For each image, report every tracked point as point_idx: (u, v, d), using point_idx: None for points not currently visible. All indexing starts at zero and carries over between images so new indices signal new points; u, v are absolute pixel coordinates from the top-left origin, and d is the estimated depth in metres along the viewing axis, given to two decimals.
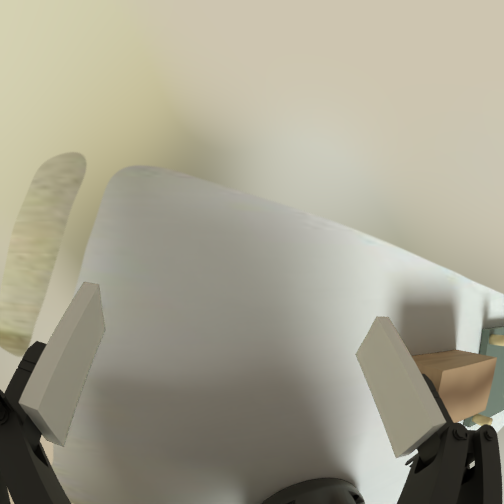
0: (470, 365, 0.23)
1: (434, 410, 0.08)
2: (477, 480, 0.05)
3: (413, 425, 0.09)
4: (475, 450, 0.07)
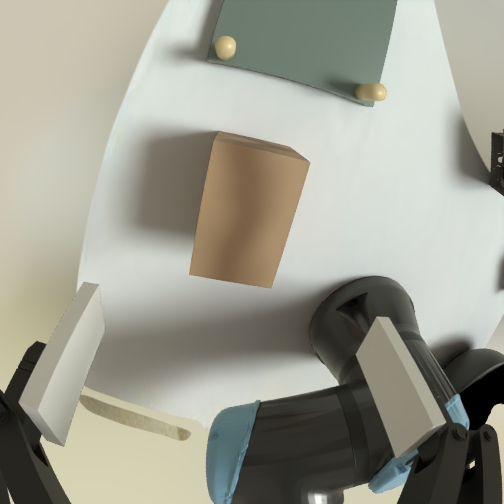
0: (199, 219, 0.22)
1: (434, 410, 0.08)
2: (477, 480, 0.05)
3: (413, 425, 0.09)
4: (475, 450, 0.07)
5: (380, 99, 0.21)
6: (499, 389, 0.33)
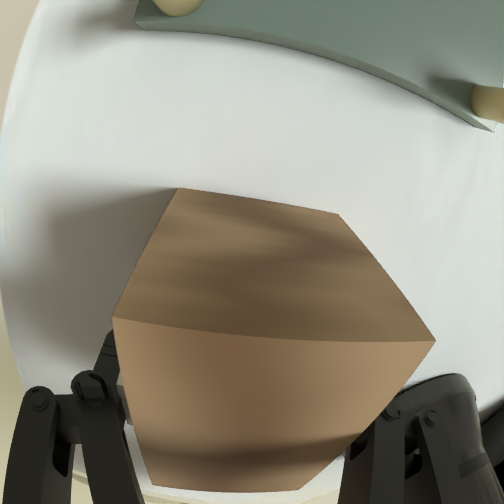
0: (143, 449, 0.08)
1: None
2: (428, 472, 0.06)
3: None
4: (418, 439, 0.08)
5: None
6: None
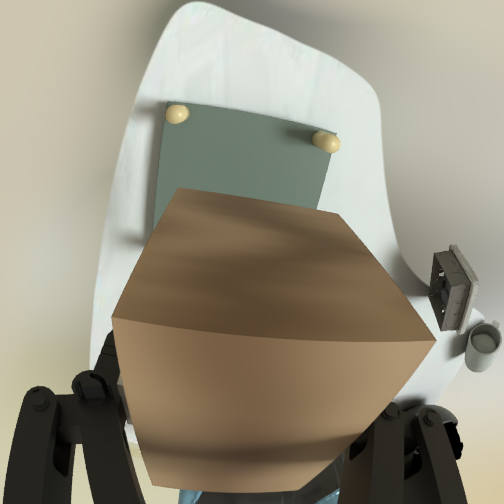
0: (143, 449, 0.08)
1: None
2: (427, 472, 0.06)
3: None
4: (417, 439, 0.08)
5: None
6: None
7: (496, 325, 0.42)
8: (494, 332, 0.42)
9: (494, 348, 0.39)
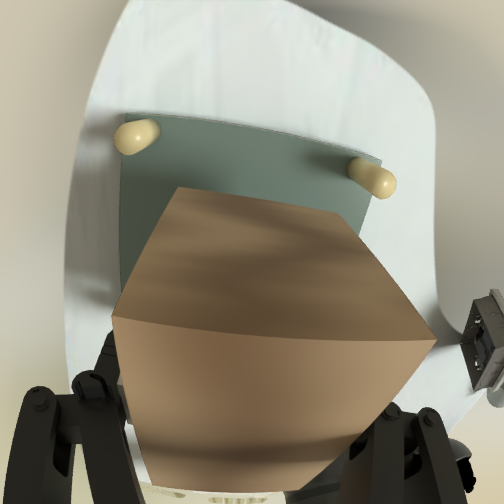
0: (143, 449, 0.07)
1: None
2: (427, 472, 0.06)
3: None
4: (417, 439, 0.08)
5: None
6: None
7: None
8: None
9: None
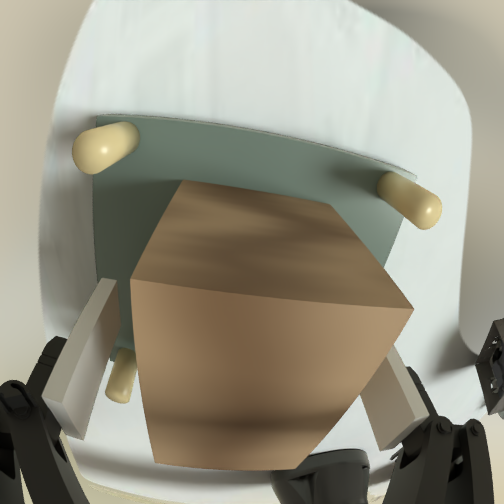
0: (148, 418, 0.09)
1: (417, 402, 0.09)
2: (466, 477, 0.06)
3: (396, 417, 0.09)
4: (462, 446, 0.07)
5: None
6: None
7: None
8: None
9: None
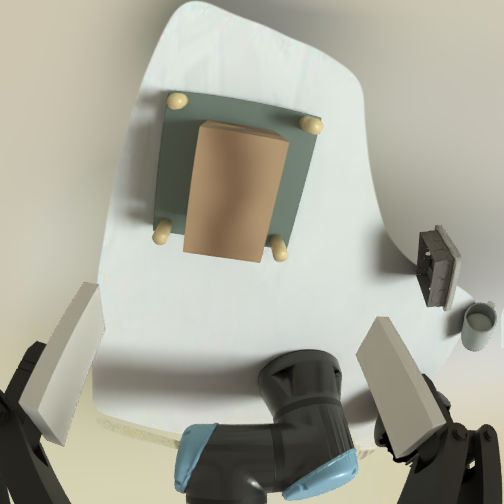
0: (190, 199, 0.24)
1: (434, 410, 0.08)
2: (477, 480, 0.05)
3: (413, 425, 0.09)
4: (475, 450, 0.07)
5: (282, 260, 0.32)
6: None
7: (491, 305, 0.45)
8: (489, 312, 0.44)
9: (490, 327, 0.42)
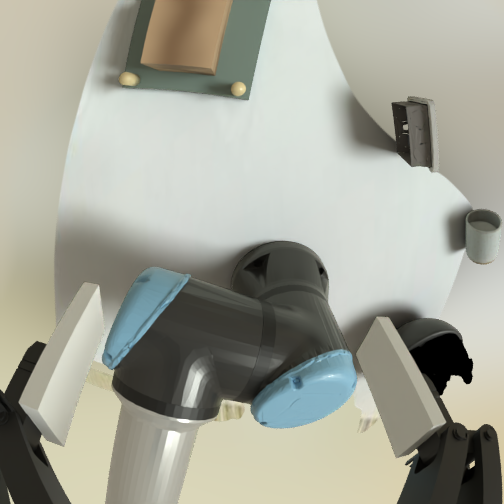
0: (151, 18, 0.20)
1: (434, 410, 0.08)
2: (477, 480, 0.05)
3: (413, 425, 0.09)
4: (475, 450, 0.07)
5: (240, 94, 0.29)
6: (443, 358, 0.41)
7: None
8: (493, 219, 0.41)
9: None
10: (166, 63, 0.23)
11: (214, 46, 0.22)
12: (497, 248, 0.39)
